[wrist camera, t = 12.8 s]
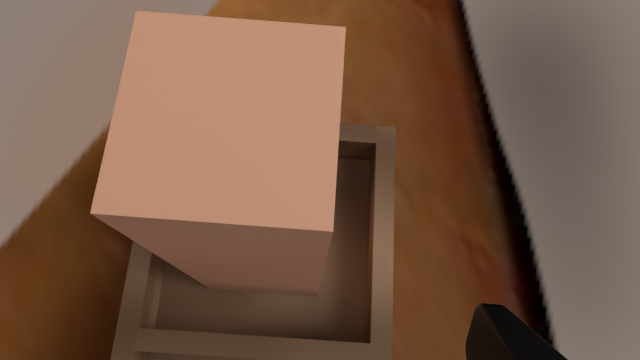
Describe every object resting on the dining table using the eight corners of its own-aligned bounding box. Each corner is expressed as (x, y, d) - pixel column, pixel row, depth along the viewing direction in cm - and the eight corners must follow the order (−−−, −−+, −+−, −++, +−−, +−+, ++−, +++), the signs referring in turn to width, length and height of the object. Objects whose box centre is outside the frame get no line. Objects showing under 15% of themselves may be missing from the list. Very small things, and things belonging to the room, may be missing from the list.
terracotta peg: (317, 296, 20) (332, 231, 9) (209, 288, 20) (90, 213, 9) (324, 193, 22) (346, 26, 11) (223, 185, 22) (136, 11, 11)
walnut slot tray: (374, 625, 18) (387, 678, 15) (93, 607, 18) (53, 657, 15) (384, 153, 24) (395, 127, 21) (175, 138, 24) (158, 110, 21)
